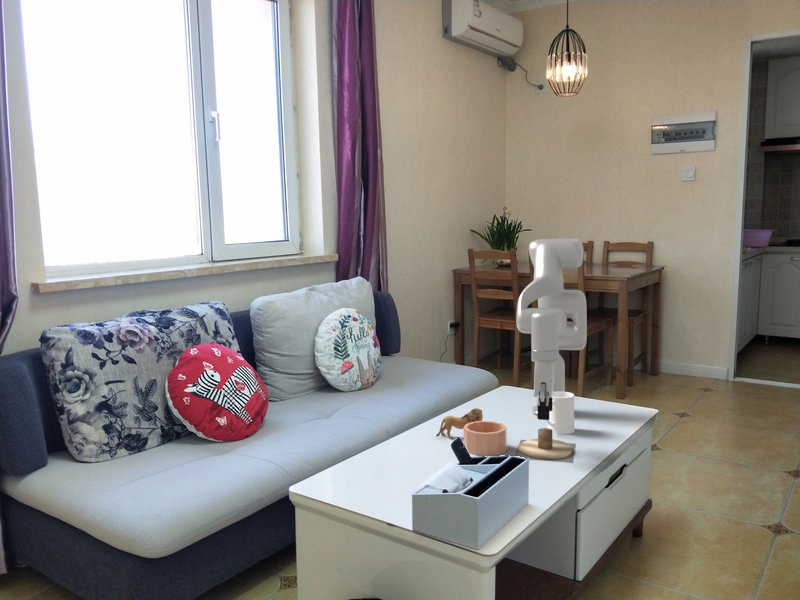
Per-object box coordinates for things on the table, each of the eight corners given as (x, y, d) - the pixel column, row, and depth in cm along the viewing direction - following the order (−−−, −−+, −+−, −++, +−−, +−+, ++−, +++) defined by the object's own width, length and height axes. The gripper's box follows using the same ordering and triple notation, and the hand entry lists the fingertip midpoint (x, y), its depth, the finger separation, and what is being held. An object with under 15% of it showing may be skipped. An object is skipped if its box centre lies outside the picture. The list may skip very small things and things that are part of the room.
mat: (520, 441, 203) (520, 439, 203) (575, 445, 198) (575, 443, 198) (513, 460, 188) (513, 457, 188) (572, 464, 183) (572, 462, 183)
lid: (522, 440, 202) (522, 421, 202) (573, 444, 198) (573, 424, 197) (515, 457, 188) (515, 436, 187) (570, 461, 184) (570, 440, 183)
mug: (555, 440, 203) (555, 401, 202) (534, 433, 210) (534, 396, 209) (580, 432, 211) (580, 394, 209) (559, 426, 217) (559, 389, 216)
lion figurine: (481, 433, 212) (481, 405, 211) (484, 438, 207) (484, 410, 206) (435, 435, 211) (434, 407, 210) (436, 440, 206) (436, 412, 205)
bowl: (469, 442, 204) (468, 419, 203) (508, 445, 200) (508, 422, 199) (460, 455, 192) (460, 432, 191) (502, 459, 189) (502, 434, 188)
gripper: (534, 350, 199) (535, 406, 200) (527, 360, 182) (528, 422, 184) (560, 350, 197) (560, 408, 198) (556, 361, 180) (556, 424, 182)
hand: (545, 414), depth 191 cm, fingers open, 9 cm apart
